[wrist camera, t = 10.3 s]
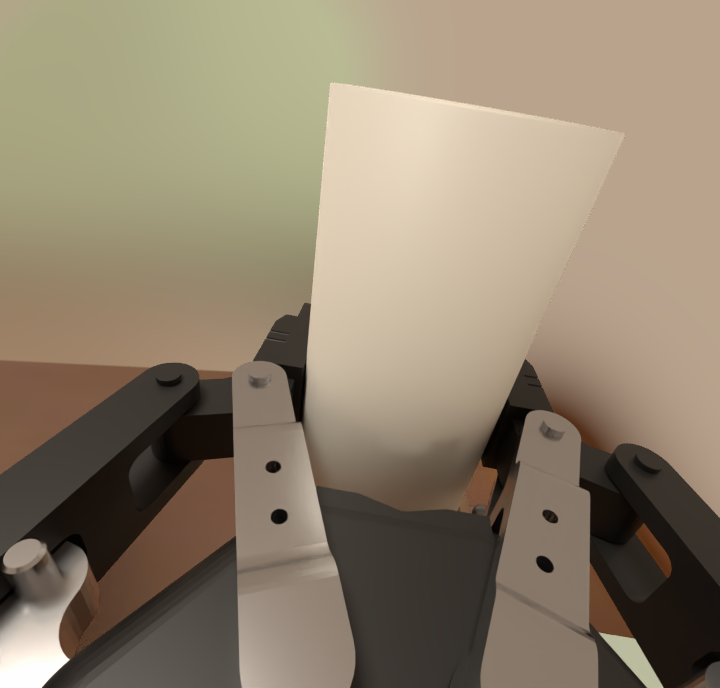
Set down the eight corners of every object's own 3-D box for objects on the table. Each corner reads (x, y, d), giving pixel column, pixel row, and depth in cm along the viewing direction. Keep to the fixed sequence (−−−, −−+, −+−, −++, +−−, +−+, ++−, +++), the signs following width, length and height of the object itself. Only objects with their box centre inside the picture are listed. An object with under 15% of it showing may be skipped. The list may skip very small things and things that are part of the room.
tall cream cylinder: (271, 630, 14) (301, 80, 5) (304, 500, 18) (348, 83, 10) (421, 657, 14) (695, 148, 5) (417, 520, 18) (565, 120, 10)
